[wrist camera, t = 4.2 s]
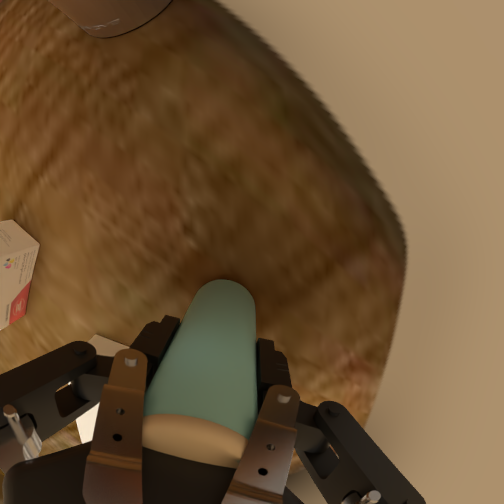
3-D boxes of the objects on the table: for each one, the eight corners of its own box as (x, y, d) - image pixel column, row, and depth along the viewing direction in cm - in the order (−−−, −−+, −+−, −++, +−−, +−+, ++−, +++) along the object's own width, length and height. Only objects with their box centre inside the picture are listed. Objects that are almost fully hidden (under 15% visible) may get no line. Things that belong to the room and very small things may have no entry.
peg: (198, 271, 17) (110, 414, 5) (263, 287, 17) (280, 454, 5) (187, 328, 18) (123, 482, 6) (247, 343, 18) (242, 509, 6)
